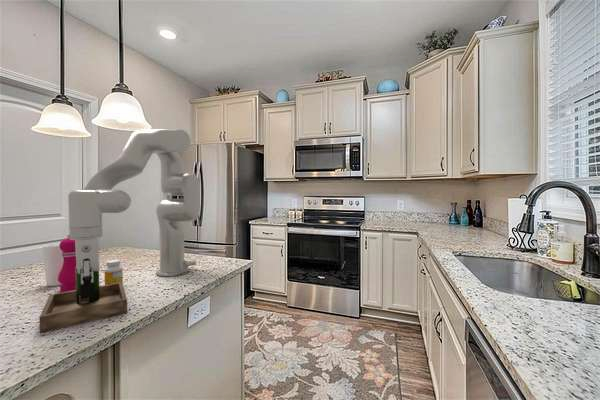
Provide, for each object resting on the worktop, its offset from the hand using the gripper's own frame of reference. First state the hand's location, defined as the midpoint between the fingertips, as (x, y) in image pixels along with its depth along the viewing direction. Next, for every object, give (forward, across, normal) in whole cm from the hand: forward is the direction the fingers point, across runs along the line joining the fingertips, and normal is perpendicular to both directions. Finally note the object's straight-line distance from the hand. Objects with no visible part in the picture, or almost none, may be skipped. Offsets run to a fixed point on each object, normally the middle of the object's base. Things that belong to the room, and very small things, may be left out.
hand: (88, 293), depth 78 cm
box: (+5, 0, 0) cm, 5 cm away
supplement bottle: (+5, +18, -7) cm, 20 cm away
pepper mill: (+5, +25, +5) cm, 26 cm away
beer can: (+3, 0, 0) cm, 3 cm away
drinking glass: (+5, +35, +10) cm, 37 cm away
